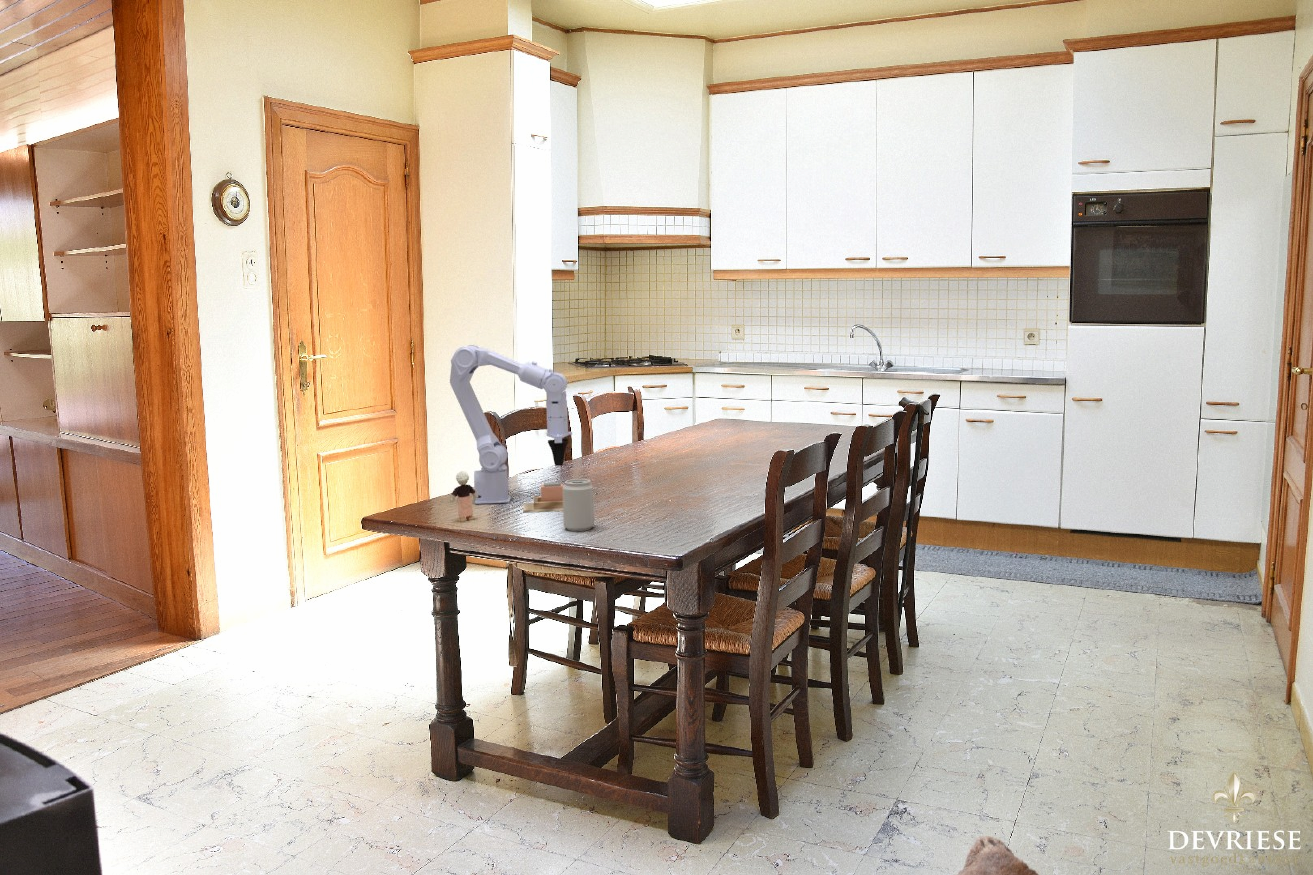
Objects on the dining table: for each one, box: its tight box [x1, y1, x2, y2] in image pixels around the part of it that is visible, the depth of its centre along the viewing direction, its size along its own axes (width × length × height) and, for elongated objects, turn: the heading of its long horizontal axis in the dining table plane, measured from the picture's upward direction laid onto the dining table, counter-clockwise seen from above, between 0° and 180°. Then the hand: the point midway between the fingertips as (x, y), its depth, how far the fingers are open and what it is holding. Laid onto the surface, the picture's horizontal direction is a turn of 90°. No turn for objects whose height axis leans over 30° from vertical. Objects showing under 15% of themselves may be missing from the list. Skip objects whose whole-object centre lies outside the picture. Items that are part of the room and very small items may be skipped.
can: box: [562, 478, 595, 532], centre depth 251 cm, size 8×8×12 cm
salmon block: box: [540, 481, 564, 502], centre depth 276 cm, size 6×4×6 cm, turn 96°
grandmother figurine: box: [449, 471, 478, 522], centre depth 263 cm, size 8×4×13 cm, turn 141°
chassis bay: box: [522, 496, 563, 514], centre depth 276 cm, size 16×9×2 cm, turn 96°
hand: (558, 465), depth 285 cm, fingers closed
